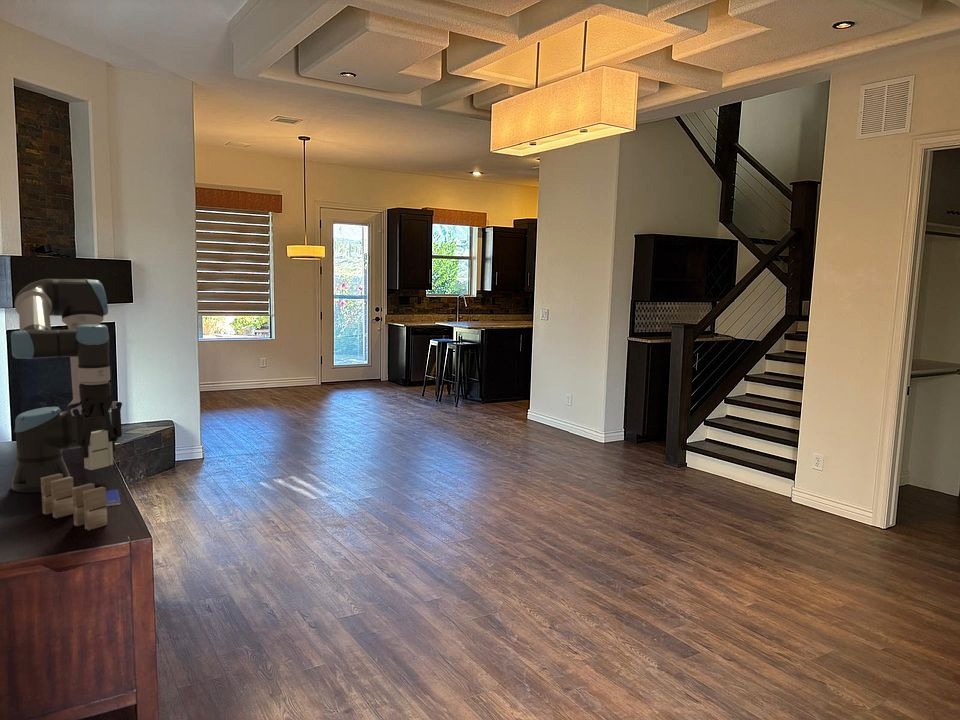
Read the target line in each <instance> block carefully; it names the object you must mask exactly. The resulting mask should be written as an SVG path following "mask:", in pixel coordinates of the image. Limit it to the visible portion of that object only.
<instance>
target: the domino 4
mask: <svg viewBox="0 0 960 720" xmlns="http://www.w3.org/2000/svg"><path fill="white" fill-rule="evenodd" d="M89 445H90V446H92V457H93V470H92V471H94V470H98V469H102V468H106V467H110V465H109V447H108V430H99V431H94V432H91V436H90V441H89Z"/></svg>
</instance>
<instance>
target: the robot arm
mask: <svg viewBox="0 0 960 720" xmlns="http://www.w3.org/2000/svg"><path fill="white" fill-rule="evenodd" d="M14 309H15V312H17V314H18V317H19V318H18V320H19V321H18V322H19V323H18V324H19V330H13V331H12V332H11V333H10V342H11V344H10V346H11V355H12V357H13V358H14V359H18V360H19V359H23V360H24V359H26V360H32V359H51V358H69V359H70V373H71V374H70V375H71V386H72V387H71V388H72V390H71V391H72V400H71V402H70V403H69V404H68V405H67V410H65V411H62V409H61V408H60V407H59V406H46V407H39V408H33V409H30V410H26V411H23V412H21V413H19V414H18V415H17V416H16V418H15V420H14V421H15V422H14V425H15V426H14V427H15V429H14V433H15V440H16V443H15V444H16V460H17V464H16V467H15V470H14V473H13V477H12V480H11V490H12V491H14V492H17V493H24V494H27V493H28V494H30V493H31V494H32V493H42V492H41V478H42V477H46V476H51V475H55V474H59V473H60V474H63V478H66V477H71V474H70V472H69V471H70V470H69V469H68V467H67V465H66V463H65V460H64V458H63V450H71V449H72V450H73V449H80V457H81V458H82V459H83V463H84V466H83V467H84V469H85V470H89V471H94V470H93V457H92V446H90V445H89V441H90V436H91V432H94V431H99V430H108V447H109V466H113V465H114V452H115V451H116V442H117V440H118V438H121V437H122V435H123V434H122V416H121V409H122V406H123V403H122V402H121V401H116V400H114V401H113V399H112V383H111V382H109V381H110V380H111V363H110V334H109V328H108V326H107V325H105V324H101V323H102V322H104V317H105V316H107V315H108V314H109V306H108V299H107V294H106V289H105V288H104V285H103V283H102V282H101V281H100V280H99V279H88V278H43V279H39V280H36V281H33V282H30V283H29V284H27V285H25V286H24V287H23V288H22V289H21V290H20V291H19V292H18V293H17V294H16V296H15V299H14ZM52 316H53V317H54V316H55V317H56V316H59V317H60V316H61V321H62V323H63V324H65V326H67V328H68V329H52V326H51V325H52V324H51V317H52Z"/></svg>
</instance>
